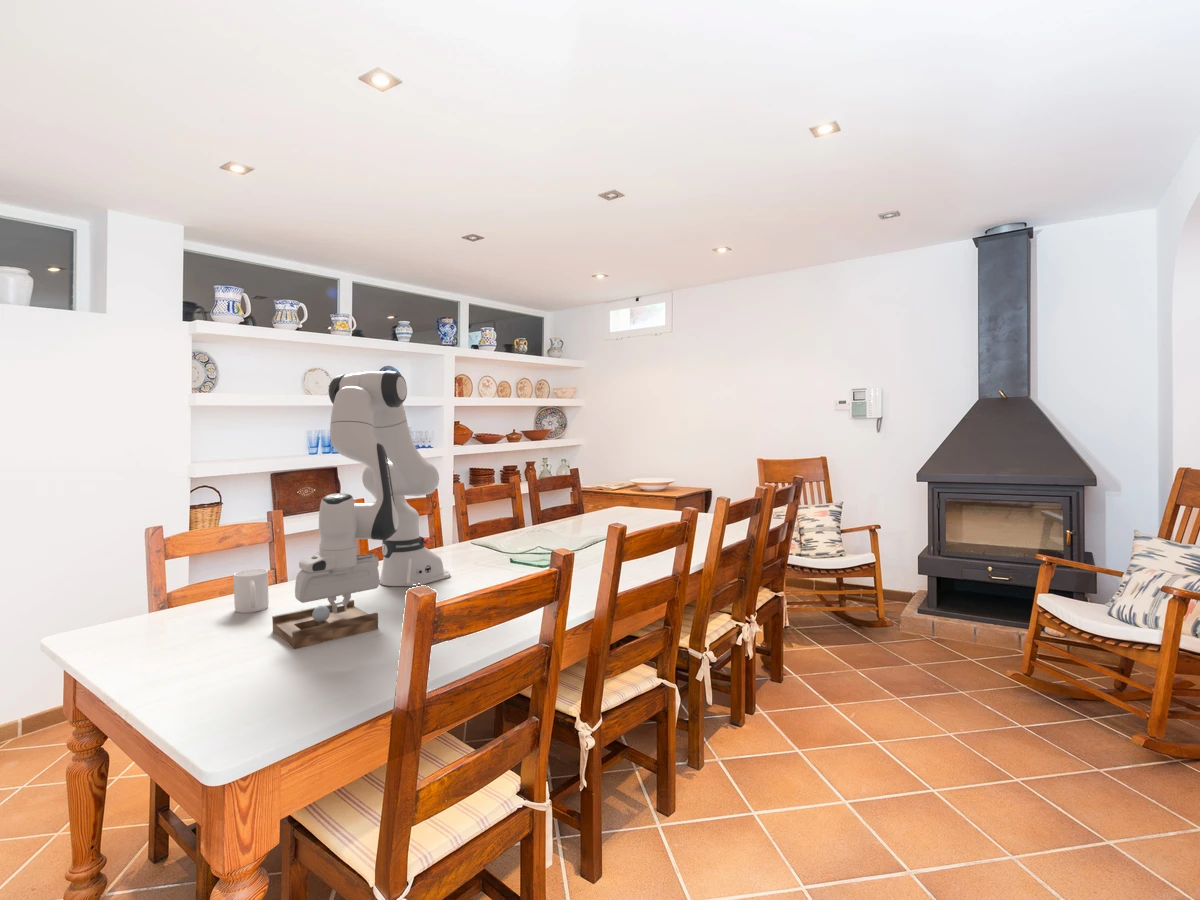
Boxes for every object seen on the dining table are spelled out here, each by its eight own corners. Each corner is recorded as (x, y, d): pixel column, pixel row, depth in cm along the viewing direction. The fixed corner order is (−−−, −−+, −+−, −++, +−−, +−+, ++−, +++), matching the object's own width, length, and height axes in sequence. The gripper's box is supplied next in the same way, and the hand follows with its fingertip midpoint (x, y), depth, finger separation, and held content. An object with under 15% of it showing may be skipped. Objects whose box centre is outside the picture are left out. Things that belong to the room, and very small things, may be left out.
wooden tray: (352, 613, 168) (352, 599, 168) (378, 628, 156) (378, 613, 156) (272, 631, 154) (272, 616, 154) (294, 649, 142) (293, 632, 142)
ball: (307, 610, 154) (314, 623, 155) (313, 614, 151) (320, 627, 152) (322, 601, 156) (328, 613, 157) (328, 604, 153) (335, 617, 154)
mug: (270, 614, 168) (269, 576, 167) (235, 619, 163) (234, 580, 163) (267, 602, 178) (266, 567, 177) (234, 607, 173) (233, 571, 173)
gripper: (373, 550, 166) (374, 601, 167) (292, 562, 152) (293, 618, 152) (383, 554, 161) (384, 606, 162) (300, 567, 147) (302, 624, 148)
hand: (339, 612), depth 157 cm, fingers closed
